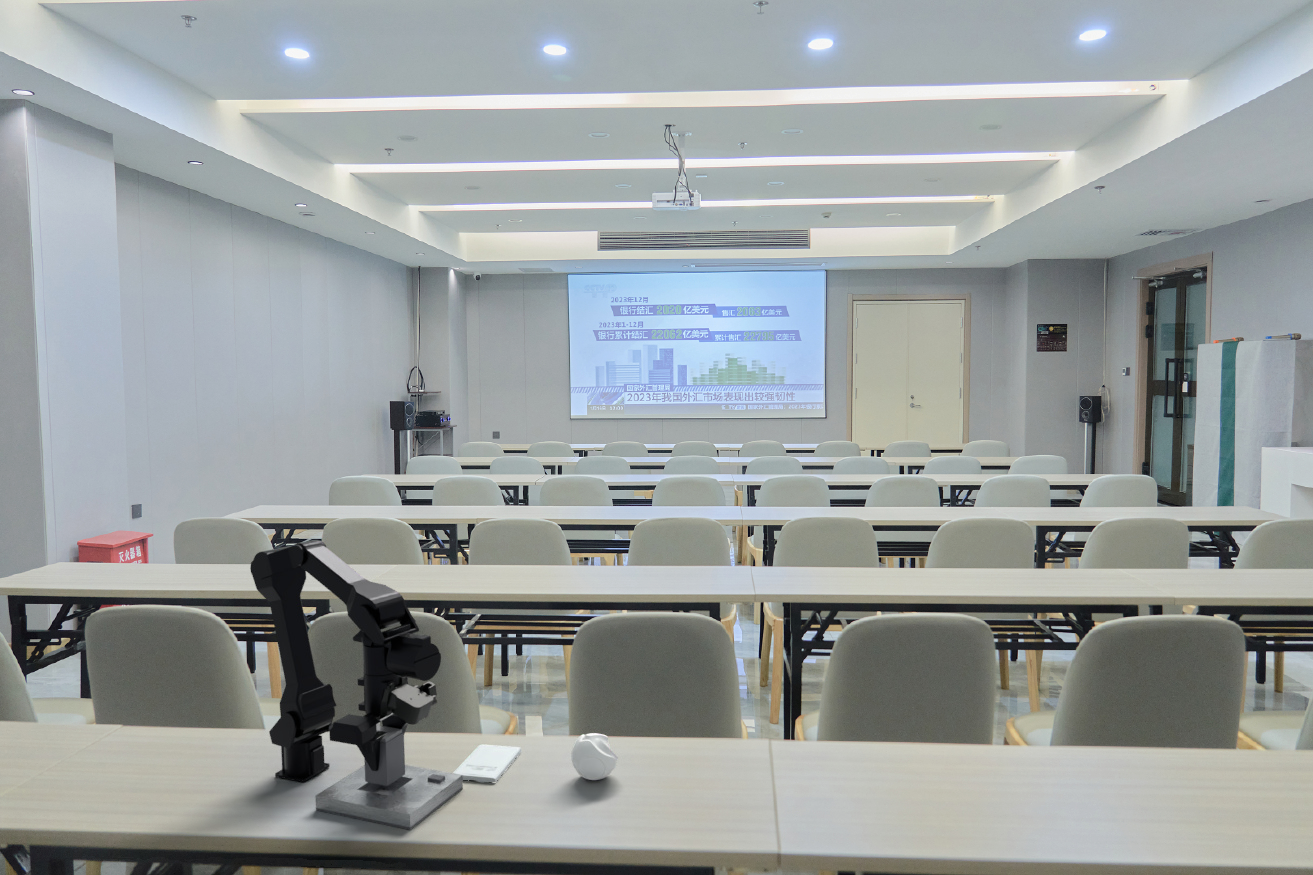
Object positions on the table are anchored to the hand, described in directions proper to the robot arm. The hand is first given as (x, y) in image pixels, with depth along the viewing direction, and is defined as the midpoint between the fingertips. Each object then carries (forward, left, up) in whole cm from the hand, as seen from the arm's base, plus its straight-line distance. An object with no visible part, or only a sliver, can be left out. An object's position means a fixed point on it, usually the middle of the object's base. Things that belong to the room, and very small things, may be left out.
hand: (384, 764), depth 139 cm
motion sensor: (+29, +18, -6) cm, 35 cm away
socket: (+1, 0, -6) cm, 6 cm away
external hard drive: (+9, +16, -6) cm, 19 cm away
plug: (0, 0, -2) cm, 2 cm away
